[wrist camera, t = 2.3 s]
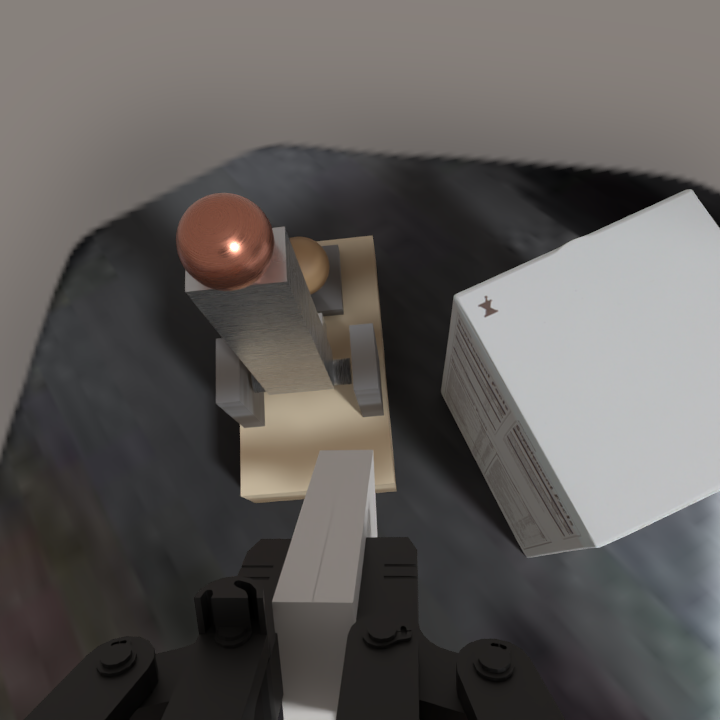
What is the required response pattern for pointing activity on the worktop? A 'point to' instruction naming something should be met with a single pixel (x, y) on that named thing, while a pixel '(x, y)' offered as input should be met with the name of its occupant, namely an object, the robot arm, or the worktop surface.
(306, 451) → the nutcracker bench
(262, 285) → the lever
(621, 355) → the supplement box
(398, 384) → the worktop surface
